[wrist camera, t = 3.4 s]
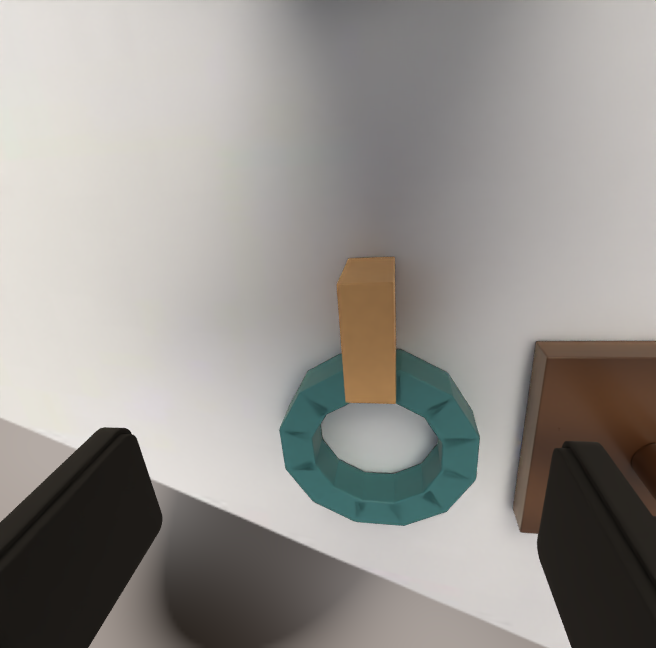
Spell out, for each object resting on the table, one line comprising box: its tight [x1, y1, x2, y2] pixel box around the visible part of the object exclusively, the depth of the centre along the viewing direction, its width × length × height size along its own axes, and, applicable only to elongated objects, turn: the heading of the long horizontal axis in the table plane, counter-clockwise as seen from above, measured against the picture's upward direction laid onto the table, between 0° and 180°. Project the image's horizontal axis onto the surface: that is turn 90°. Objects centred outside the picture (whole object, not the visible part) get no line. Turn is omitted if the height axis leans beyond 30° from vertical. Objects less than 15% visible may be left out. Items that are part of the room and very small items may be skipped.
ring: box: [279, 257, 480, 526], centre depth 18 cm, size 14×9×4 cm
